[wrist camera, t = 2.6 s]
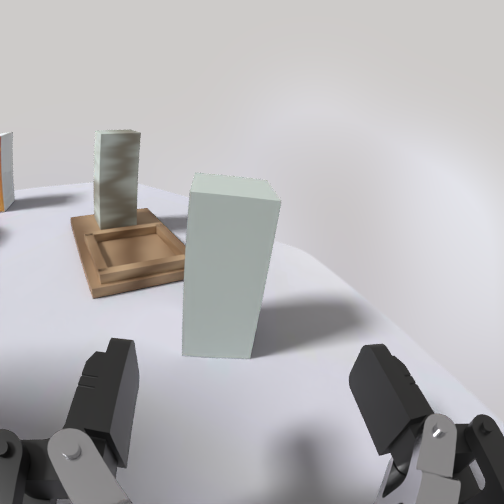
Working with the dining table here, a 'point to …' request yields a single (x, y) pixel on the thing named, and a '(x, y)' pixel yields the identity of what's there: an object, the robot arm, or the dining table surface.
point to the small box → (6, 171)
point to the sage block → (226, 263)
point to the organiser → (123, 225)
